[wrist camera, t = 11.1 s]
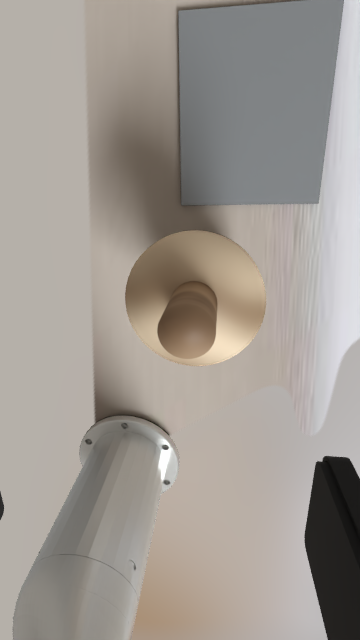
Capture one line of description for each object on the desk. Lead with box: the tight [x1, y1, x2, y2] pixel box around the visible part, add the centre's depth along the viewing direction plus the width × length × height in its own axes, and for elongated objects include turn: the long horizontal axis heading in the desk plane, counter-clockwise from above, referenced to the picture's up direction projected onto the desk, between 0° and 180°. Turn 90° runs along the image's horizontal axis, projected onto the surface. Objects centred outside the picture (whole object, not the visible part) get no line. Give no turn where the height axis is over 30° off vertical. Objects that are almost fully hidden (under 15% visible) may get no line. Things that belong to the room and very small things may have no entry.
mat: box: [178, 0, 344, 205], centre depth 27 cm, size 14×12×1 cm
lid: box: [125, 230, 266, 366], centre depth 21 cm, size 10×10×6 cm
